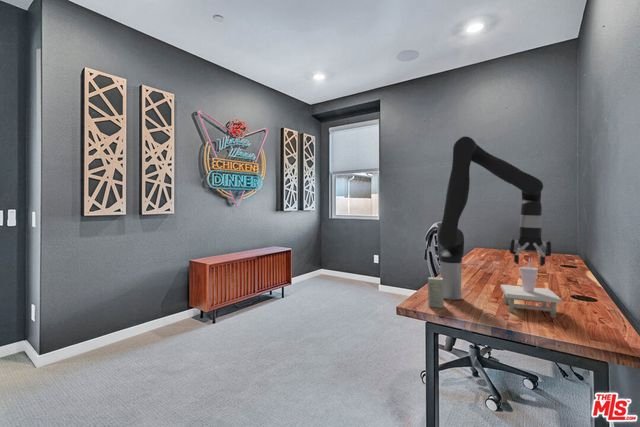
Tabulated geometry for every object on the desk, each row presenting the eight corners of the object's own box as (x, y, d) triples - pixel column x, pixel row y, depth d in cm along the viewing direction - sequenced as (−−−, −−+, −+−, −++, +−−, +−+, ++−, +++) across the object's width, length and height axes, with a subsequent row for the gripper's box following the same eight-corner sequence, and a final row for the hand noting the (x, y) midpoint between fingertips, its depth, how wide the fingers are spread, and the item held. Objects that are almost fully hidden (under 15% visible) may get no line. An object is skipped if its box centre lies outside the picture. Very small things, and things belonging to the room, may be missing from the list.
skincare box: (443, 305, 133) (444, 277, 133) (443, 308, 129) (443, 280, 129) (428, 303, 136) (428, 276, 135) (427, 306, 132) (427, 278, 131)
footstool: (506, 313, 124) (506, 293, 123) (500, 301, 138) (500, 284, 138) (560, 319, 116) (561, 299, 116) (548, 307, 131) (548, 288, 131)
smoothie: (521, 292, 125) (521, 258, 125) (517, 288, 131) (518, 256, 131) (539, 294, 123) (540, 259, 123) (535, 290, 129) (536, 257, 128)
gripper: (512, 226, 126) (510, 264, 126) (554, 227, 120) (552, 268, 121) (509, 224, 133) (507, 261, 133) (548, 226, 127) (546, 264, 128)
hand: (529, 264), depth 127 cm, fingers open, 8 cm apart
